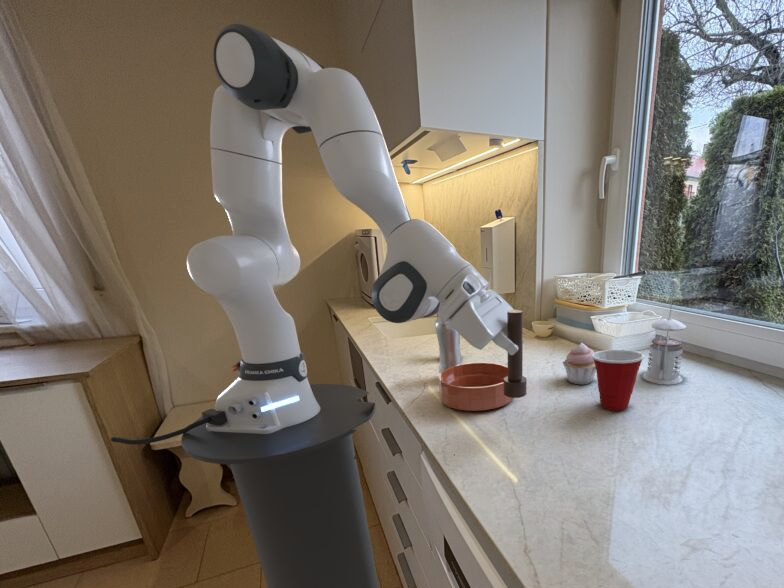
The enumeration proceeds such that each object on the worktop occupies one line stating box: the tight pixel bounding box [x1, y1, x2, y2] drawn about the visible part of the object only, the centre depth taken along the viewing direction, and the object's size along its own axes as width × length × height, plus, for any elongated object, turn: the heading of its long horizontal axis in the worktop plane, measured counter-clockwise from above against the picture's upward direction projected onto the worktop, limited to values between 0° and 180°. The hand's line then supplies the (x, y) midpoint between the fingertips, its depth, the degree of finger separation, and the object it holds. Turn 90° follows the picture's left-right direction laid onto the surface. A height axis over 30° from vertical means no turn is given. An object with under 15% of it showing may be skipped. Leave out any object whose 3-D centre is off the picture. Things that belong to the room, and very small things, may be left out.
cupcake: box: [562, 342, 597, 385], centre depth 103 cm, size 9×9×10 cm
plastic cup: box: [592, 349, 645, 412], centre depth 88 cm, size 11×11×12 cm
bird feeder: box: [642, 278, 687, 386], centre depth 101 cm, size 10×12×25 cm
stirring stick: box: [504, 309, 528, 399], centre depth 77 cm, size 4×4×16 cm
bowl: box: [437, 361, 515, 412], centre depth 94 cm, size 17×17×6 cm
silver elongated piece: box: [434, 316, 464, 375], centre depth 104 cm, size 6×7×20 cm
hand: (518, 349), depth 76 cm, fingers closed on stirring stick, 3 cm apart
